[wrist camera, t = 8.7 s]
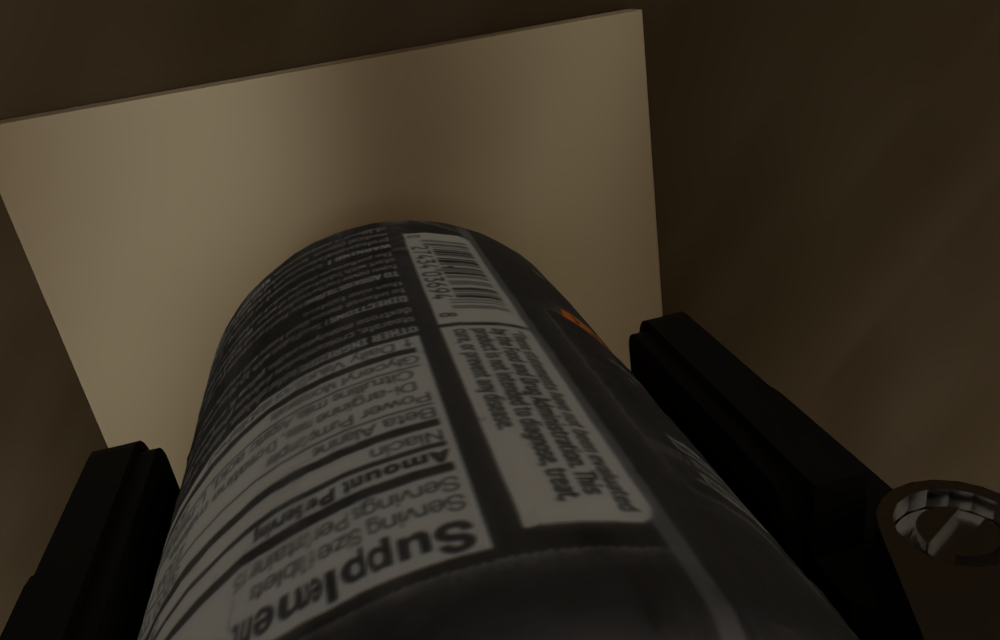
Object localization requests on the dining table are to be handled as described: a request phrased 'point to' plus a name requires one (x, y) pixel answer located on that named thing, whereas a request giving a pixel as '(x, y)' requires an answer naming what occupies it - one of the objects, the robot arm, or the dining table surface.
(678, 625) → the pill bottle
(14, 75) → the dining table surface
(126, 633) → the robot arm
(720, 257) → the dining table surface
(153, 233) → the coaster
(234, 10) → the dining table surface
